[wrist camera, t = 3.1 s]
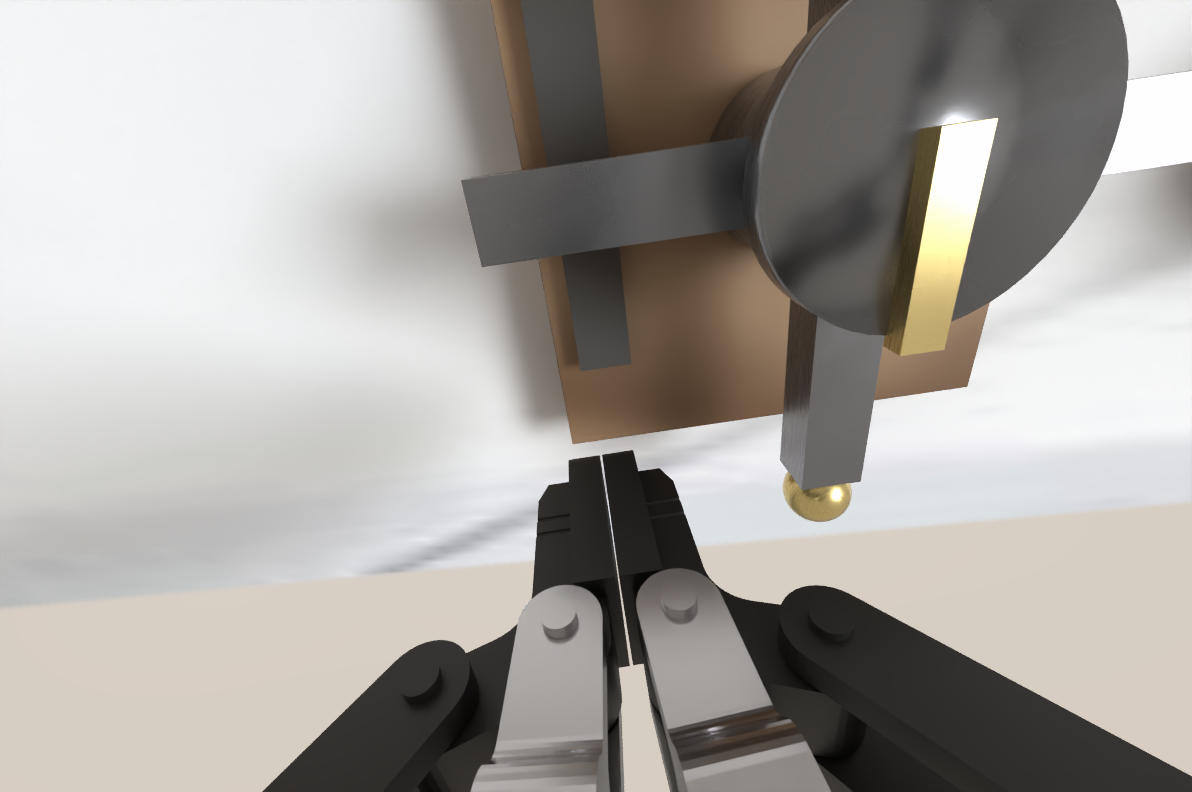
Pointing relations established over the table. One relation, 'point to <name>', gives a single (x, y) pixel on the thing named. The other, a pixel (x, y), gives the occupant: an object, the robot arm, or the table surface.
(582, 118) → the stand
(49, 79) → the table surface
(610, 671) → the robot arm
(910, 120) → the capstan
